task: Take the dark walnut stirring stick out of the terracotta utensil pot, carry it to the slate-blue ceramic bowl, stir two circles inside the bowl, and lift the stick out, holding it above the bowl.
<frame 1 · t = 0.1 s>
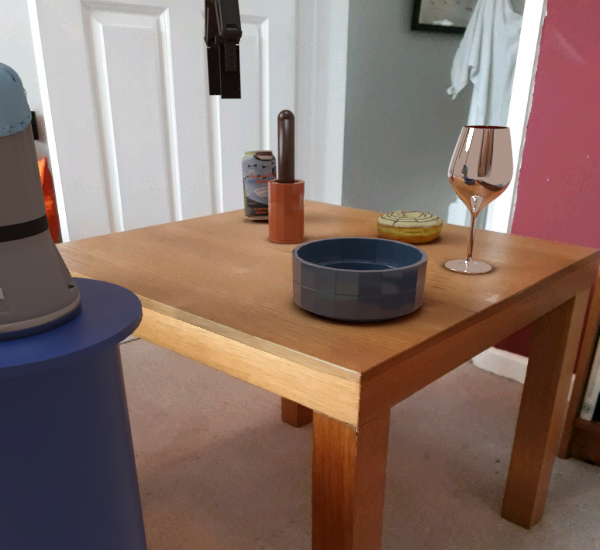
hand: (224, 97, 94), 21 cm above the table, tool pointing down, fingers open, 13 cm apart
beverage can: (261, 221, 115), on the table
utensil pot: (286, 239, 102), on the table
decorated donut: (408, 238, 104), on the table
wineglass: (467, 268, 88), on the table
stirring stick: (286, 236, 102), resting on utensil pot
bowl: (356, 303, 74), on the table
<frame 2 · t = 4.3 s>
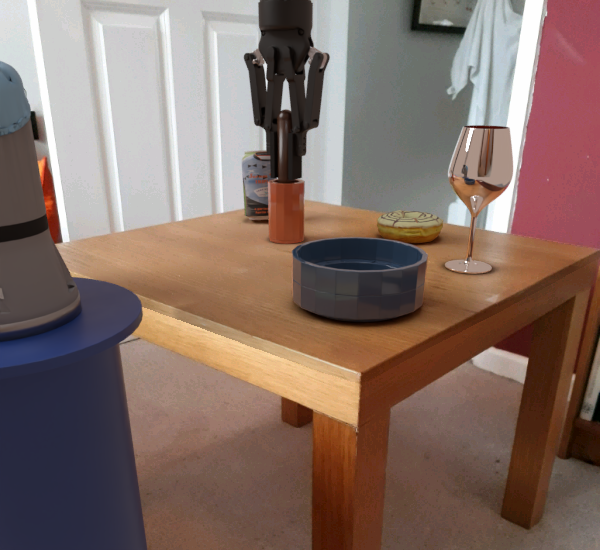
hand: (286, 177, 98), 10 cm above the table, tool pointing down, fingers closed on stirring stick, 3 cm apart
stirring stick: (286, 236, 102), point 1 cm above the table, touching gripper
everything else where it was.
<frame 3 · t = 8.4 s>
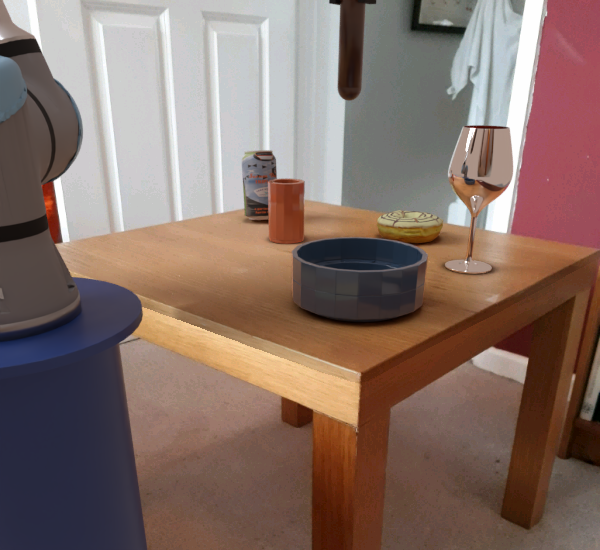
hand: (352, 3, 65), 30 cm above the table, tool pointing down, fingers closed on stirring stick, 3 cm apart
stirring stick: (348, 100, 69), point 21 cm above the table, touching gripper
everything else where it was.
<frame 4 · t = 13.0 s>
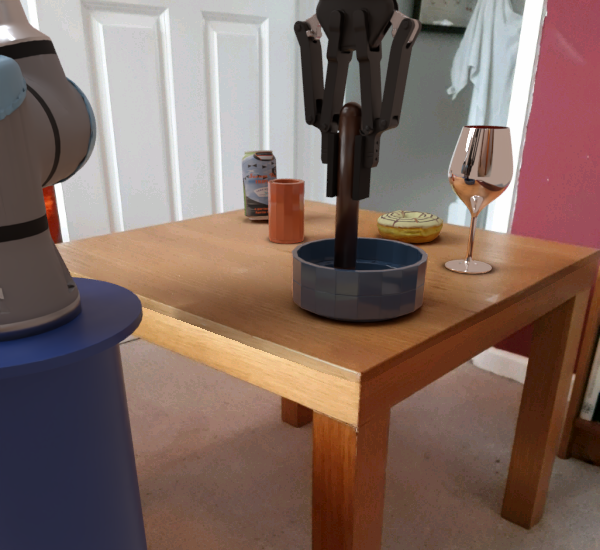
hand: (347, 196, 70), 12 cm above the table, tool pointing down, fingers closed on stirring stick, 3 cm apart
stirring stick: (344, 275, 75), point 3 cm above the table, touching gripper
everything else where it was.
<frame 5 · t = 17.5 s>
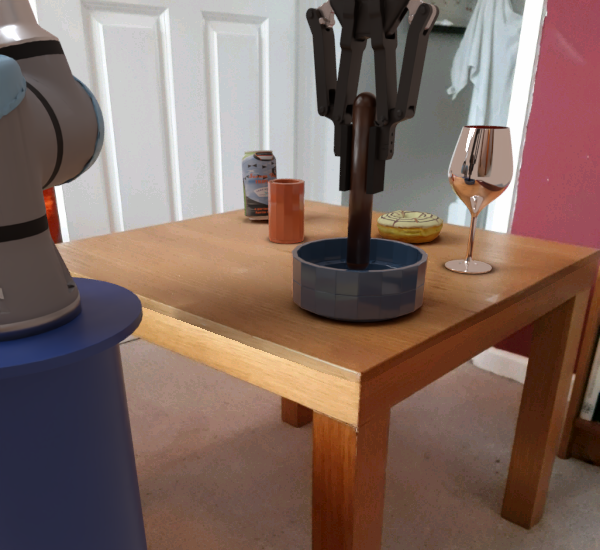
hand: (361, 190, 68), 13 cm above the table, tool pointing down, fingers closed on stirring stick, 3 cm apart
stirring stick: (357, 272, 72), point 4 cm above the table, touching gripper
everything else where it was.
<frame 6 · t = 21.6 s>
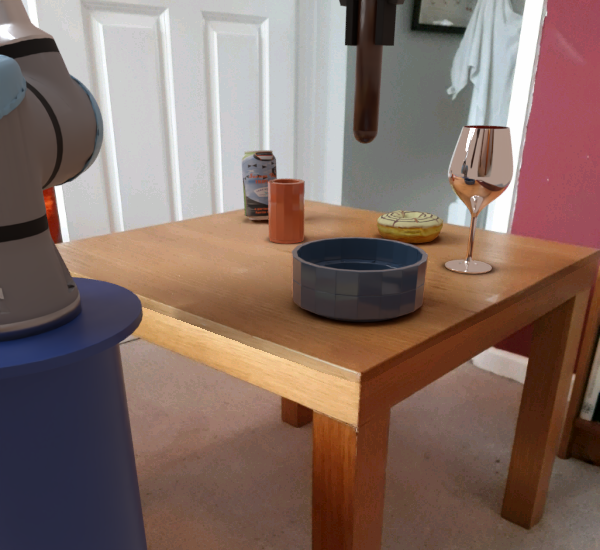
hand: (369, 44, 62), 26 cm above the table, tool pointing down, fingers closed on stirring stick, 3 cm apart
stirring stick: (364, 143, 66), point 17 cm above the table, touching gripper
everything else where it was.
at the end: the gripper is holding stirring stick; stirring stick 0.1 cm from the bowl (horizontally); stirring stick moved 36.7 cm from its start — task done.
